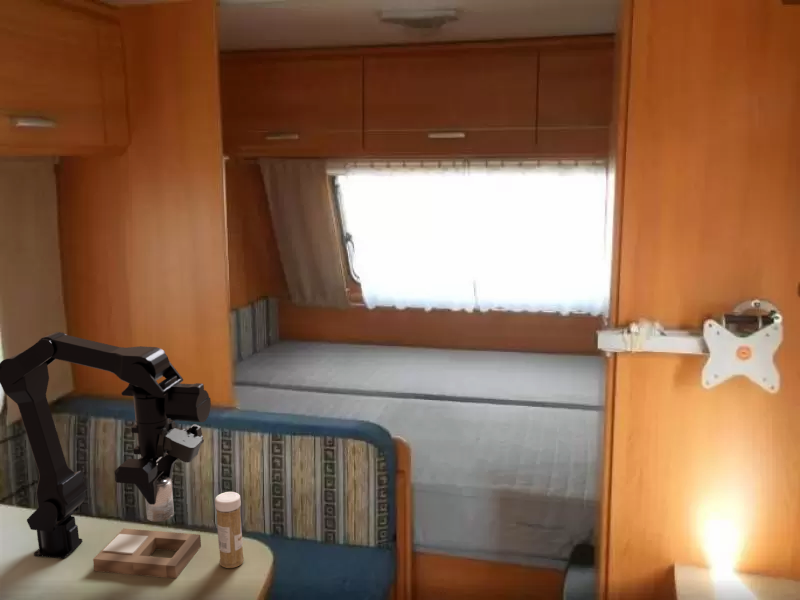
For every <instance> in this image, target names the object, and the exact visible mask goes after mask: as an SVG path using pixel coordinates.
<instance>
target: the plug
mask: <svg viewBox="0 0 800 600" xmlns="http://www.w3.org/2000/svg"><path fill="white" fill-rule="evenodd" d="M173 498H174V495H173V483H172V478H171V479H170V478H169V477H167V476H163V475H160V476H159V477H158V478H157V491H156V503H155V504H154V505H152V504H149V503H148V502H147V500H146V499H145V498H144V499H145V509H146V510H145V511H146V518H147V520H148V521H151V522H164V521H167V520H169V519H171V518H173V516H174V515H175V511H174V510H175V509H174V499H173Z"/></svg>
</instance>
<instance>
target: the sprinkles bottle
mask: <svg viewBox="0 0 800 600" xmlns="http://www.w3.org/2000/svg"><path fill="white" fill-rule="evenodd" d="M214 505H215V506H214V507H215V511H216V520H217V521H216V527H217V539H218V549H219V565H220V566H222V567H223V568H227V569H233V568H237V567H239V566H241V565H242V564H243V563H244V560H245V558H244V550H243V549H244V548H243V547H244V546H243V543H244V542H243V533H242V532H243V531H242V521H241V505H242V502H241V495H240V494H239V493H237V492H235V491H226V492H222V493H220V494H218V495H216V497H215V499H214Z"/></svg>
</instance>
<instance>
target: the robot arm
mask: <svg viewBox="0 0 800 600" xmlns="http://www.w3.org/2000/svg"><path fill="white" fill-rule="evenodd" d="M56 360H58V361H62V362H67V363H71V364H75V365H81V366H85V367H88V368H92V369H98V370H100V371H104V372H105V371H106V372H109V373H111V374H114V375H115V376H116V377H117V378H119V379H120V381H122V382H125V383H127V384H128V385H127V386H126V388H125V389H123V390H122V391H121V396H123V397H133V404H134V405H133V407H134V416H135V418H134V419H135V424H134V425H133V426H131V433H132V434H136V438H137V439H136V440H137V441H136V442H137V445H136V446H134V448H133V455H140V457H139V458H127V459H126V460H125V461H124V462H123V463H121V464H120V465H119V466H118V467H117V468H115V470H114V481H115V482H116V483H118V484H128V485H129V484H131V485H135V486H136V488H137V490H139V491H140V493H141V494H142V496H143V497H144V499H146V500H147V502H148V503H149V504H152V505H154V504H155V503H156V491H157V478H158V477H159V476H160V475H163V476H167V477H169V478H170V479H171V480H172V475H173V473H174V467H175V463H176V461H177V460H178V459H179V460H180V461H181V462H183V463H191V462H192V460H193V459H194V458H196V457H197V456H198V455H199V452H200V448H201V446H202V444H203V443H204V442H205V439H204V435H203V432H202V427H201V426H200V425H197V424H196V423H204V422H206V421H207V420H208V418H209V416H210V411H211V406H212V405H211V402H212V401H211V400H212V399H211V397H210V395H209V393H208V391H207V390H205V387H204V385H205V384H203V383H199V382H197V383H196V382H195V383H182V382H184V377H183V376H181V374H180V373H179V372H178V370H176V368H175V367H174V365H173V364H172V363H171V361H170V359H169V357H168V355H167V354H166V352H165V350H163V349H162V348H160V347H156V346H130V347H123V346H122V347H121V346H116V345H112V344H107V343H103V342H97V341H94V340H90V339H85V338H81V337H77V336H73V335H68V334H66V333H65V332H61V331H55V332H53V333H51V334H48V335H46V336H43V337H41V338H40V339H39V340H38V341H36V342H35V344H33V345H31V346H30V347H29V348H27V349H26V350H23V351H21V352H19V353H17V354H14V355H12V356H9V357H8V358H5V359H3V360H2V361H0V385H1V388H2V390H3V392H4V393H5V395H6V396H7V397H8V398H10V399H11V400H12V401H14V403H15V404H16V405H17V407H18V410H19V413H20V416H21V420H22V424H23V427H24V429H25V433H26V437H27V439H28V442H29V446H30V448H31V451H32V455H33V458H34V461H35V465H36V468H37V471H38V477H39V478H38V482H37V486H36V487H37V488H36V493H35V495H36V501H37V508H36V510H35V511H33V512H32V513H31V515H30V516H28V518H27V519H26V522H27V525H28V527H29V529H30V530H32V531H36V535H37V542H38V543H37V544H38V549H37V550H36V551H34V552H33V556H35V557H42V558H55V559H65V558H67V557H68V556H69V555H70V554H72V552H73V551H74V550H75V549H76V548H77V547H79V545H81V544H82V543H83V539H82V538H80V534H79V525H78V524H76V518H75V516H73V515H74V514H75V513H77V512H78V511H79V510H80V506H81V504H83V503H84V501H85V499H86V498H87V497H86V495H87V493H86V491H87V490H88V489H89V488H88V486H86V483H85V480H84V475H83V472H82V471H81V470H78V471H74V470H72V468H70V467H69V466H68V464H67V462H66V457H65V454H64V452H63V447H62V445H61V442H60V437H59V434H58V431H57V428H56V425H55V422H54V421H55V420H54V419H53V415H52V412H51V411H52V410H51V408H50V404H49V401H48V399H47V391H48V390H47V389H48V386H49V381H50V376H49V375H50V374H49V368H48V366H50V364H52V363H53V362H54V361H56ZM163 377H164V378H165V379H164V380H161V381H160V382H158V380H159V379H161V378H163ZM176 421H177V422H189V423H193V424H192V425H191V426H190V427H189V428H188V429H187V428H179V427H178V428H177V427H176ZM194 423H195V424H194ZM146 500H145V501H146Z"/></svg>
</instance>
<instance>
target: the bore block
mask: <svg viewBox="0 0 800 600" xmlns="http://www.w3.org/2000/svg"><path fill="white" fill-rule="evenodd" d="M201 541H202V540H201V534H200V533H199V534H197V533H186V532H175V531H174V532H171V531H159V530H146V529H135V528H134V529H133V528H122V529H121V530H120V531H119V532H118V533H117V534H116V536H115V537H113V538H112V539H111V541H110V542H108V543H107V544H106V546H104V547H103V548H102V549H101V550H100V551H99V553H97V554H96V555H95V556H94V558H93V559H92V561H93V569H94V571H93V572H100V573H109V574H110V573H112V574H120V575H122V574H123V575H133V576H144V577H147V576H148V577H155V578H156V577H157V578H167V579H168V578H169V579H177V578H178V577H179V575H180V574H181V573H182V572H183V570H184V569H185V568H186V567H187V565H188V564H189V563H190V562H191V560H192V559H193V558H194V556H195V555H196V554H197V552H198V551H199V550H198V549H200V548H201V547H202V542H201ZM156 550H161V551H174V552H175V553H174V554H173V556H172V557H161V556H153V553H154V552H155V551H156ZM195 553H196V554H195Z"/></svg>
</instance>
